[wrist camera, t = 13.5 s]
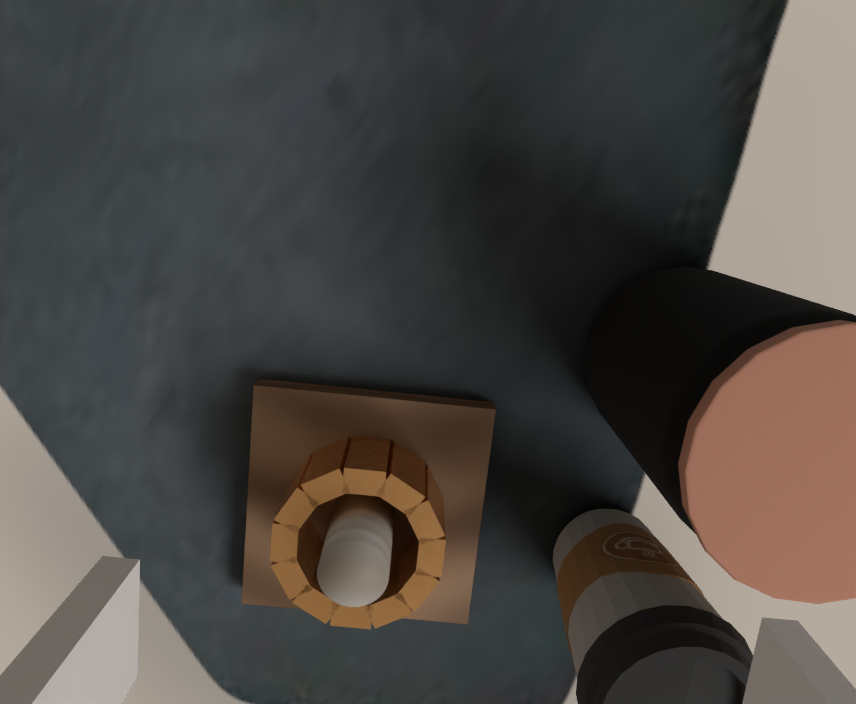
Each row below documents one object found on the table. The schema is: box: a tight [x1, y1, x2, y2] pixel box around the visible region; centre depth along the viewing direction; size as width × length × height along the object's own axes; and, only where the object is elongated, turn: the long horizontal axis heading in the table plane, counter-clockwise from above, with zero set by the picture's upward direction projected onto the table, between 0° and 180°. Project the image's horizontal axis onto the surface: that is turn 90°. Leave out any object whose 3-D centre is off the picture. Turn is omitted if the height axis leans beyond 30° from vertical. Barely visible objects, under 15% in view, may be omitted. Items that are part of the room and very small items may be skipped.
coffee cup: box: [553, 509, 753, 704], centre depth 39 cm, size 8×8×15 cm
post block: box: [242, 379, 496, 624], centre depth 41 cm, size 14×14×9 cm
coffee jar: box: [584, 266, 856, 604], centre depth 35 cm, size 11×11×18 cm
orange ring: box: [270, 435, 446, 629], centre depth 42 cm, size 9×9×5 cm
